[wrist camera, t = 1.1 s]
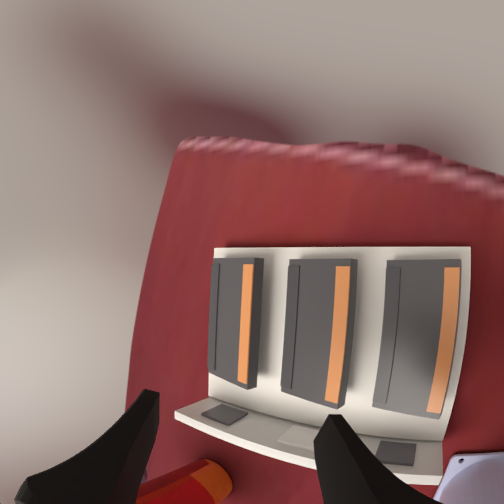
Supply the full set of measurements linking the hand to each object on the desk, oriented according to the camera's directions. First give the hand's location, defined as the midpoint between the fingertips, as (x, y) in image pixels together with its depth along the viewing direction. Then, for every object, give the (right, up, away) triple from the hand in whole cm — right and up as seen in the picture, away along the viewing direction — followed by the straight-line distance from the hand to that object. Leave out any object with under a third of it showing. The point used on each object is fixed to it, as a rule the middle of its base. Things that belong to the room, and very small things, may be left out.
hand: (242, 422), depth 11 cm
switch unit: (+6, 0, +11) cm, 13 cm away
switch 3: (+11, +2, +5) cm, 12 cm away
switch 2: (+5, +2, +9) cm, 10 cm away
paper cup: (-4, -19, +15) cm, 24 cm away
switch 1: (-1, +2, +12) cm, 13 cm away
